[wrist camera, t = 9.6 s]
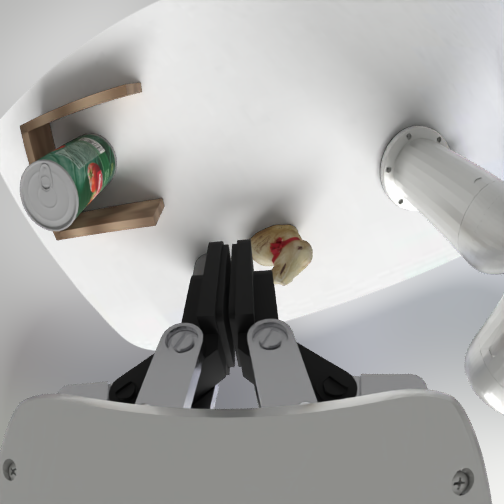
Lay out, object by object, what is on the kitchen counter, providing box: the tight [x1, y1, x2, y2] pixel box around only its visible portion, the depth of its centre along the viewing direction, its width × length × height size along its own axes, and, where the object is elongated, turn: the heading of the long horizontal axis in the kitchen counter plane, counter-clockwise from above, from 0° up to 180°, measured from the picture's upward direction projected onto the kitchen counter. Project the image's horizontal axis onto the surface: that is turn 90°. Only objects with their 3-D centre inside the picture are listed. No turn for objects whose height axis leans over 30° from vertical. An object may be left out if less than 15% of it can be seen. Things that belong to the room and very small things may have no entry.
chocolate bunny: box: [251, 225, 312, 286], centre depth 35 cm, size 6×8×10 cm
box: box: [20, 83, 164, 240], centre depth 29 cm, size 15×16×5 cm
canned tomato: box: [20, 134, 117, 231], centre depth 26 cm, size 8×8×11 cm
